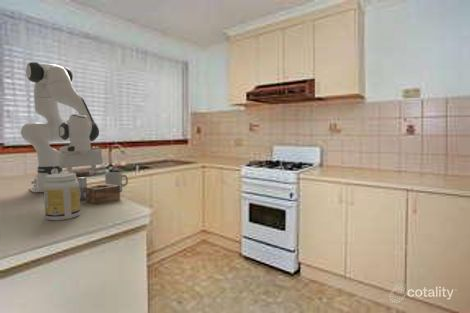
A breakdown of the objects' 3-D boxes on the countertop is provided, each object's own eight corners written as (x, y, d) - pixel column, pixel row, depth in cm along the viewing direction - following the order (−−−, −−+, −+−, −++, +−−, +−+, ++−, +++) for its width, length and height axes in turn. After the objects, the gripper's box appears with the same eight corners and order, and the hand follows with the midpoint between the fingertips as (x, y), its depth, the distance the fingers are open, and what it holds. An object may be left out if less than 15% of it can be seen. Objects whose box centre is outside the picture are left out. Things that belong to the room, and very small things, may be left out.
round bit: (76, 199, 144) (75, 178, 143) (85, 198, 147) (84, 177, 146) (80, 201, 142) (79, 178, 141) (88, 199, 145) (87, 177, 144)
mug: (108, 194, 156) (107, 174, 156) (104, 191, 163) (103, 172, 162) (130, 191, 164) (129, 172, 163) (125, 189, 171) (125, 170, 170)
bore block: (85, 201, 141) (85, 187, 140) (109, 196, 150) (108, 183, 150) (96, 204, 135) (95, 189, 134) (120, 199, 144) (119, 185, 144)
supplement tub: (73, 210, 124) (71, 171, 122) (86, 216, 116) (84, 174, 115) (40, 217, 114) (38, 175, 113) (51, 223, 107) (49, 178, 105)
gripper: (98, 146, 152) (99, 172, 153) (55, 148, 136) (57, 177, 137) (104, 146, 148) (105, 173, 149) (61, 148, 132) (63, 178, 133)
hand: (82, 175), depth 143 cm, fingers open, 8 cm apart
